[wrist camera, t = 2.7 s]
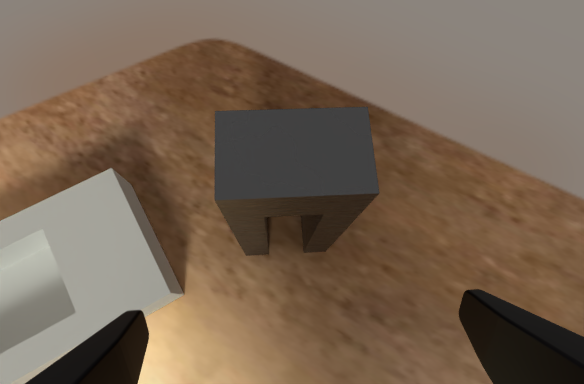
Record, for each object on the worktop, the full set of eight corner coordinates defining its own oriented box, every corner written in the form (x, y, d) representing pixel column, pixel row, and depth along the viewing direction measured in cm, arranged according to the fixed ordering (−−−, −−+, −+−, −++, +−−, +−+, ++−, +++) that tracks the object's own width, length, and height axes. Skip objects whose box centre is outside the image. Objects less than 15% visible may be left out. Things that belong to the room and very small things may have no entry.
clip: (325, 251, 23) (379, 193, 11) (246, 255, 23) (214, 200, 11) (321, 205, 24) (367, 106, 12) (245, 208, 24) (215, 111, 12)
